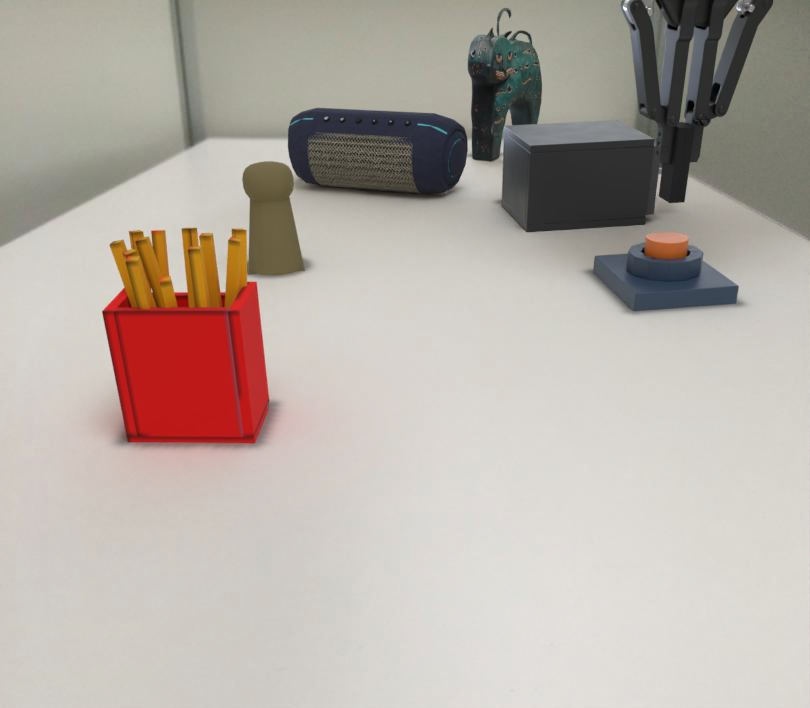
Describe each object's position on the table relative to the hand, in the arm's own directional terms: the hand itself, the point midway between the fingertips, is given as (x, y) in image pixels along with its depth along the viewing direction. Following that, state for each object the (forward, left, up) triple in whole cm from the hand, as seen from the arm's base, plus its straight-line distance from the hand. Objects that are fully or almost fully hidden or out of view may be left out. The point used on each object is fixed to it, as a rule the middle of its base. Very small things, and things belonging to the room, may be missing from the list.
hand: (671, 199), depth 91 cm
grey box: (0, -30, -9) cm, 31 cm away
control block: (0, 0, -9) cm, 9 cm away
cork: (+37, -15, -9) cm, 41 cm away
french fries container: (+44, +22, -9) cm, 50 cm away
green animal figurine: (-1, -70, -9) cm, 70 cm away
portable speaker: (+22, -49, -9) cm, 54 cm away
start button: (0, 0, -5) cm, 5 cm away
